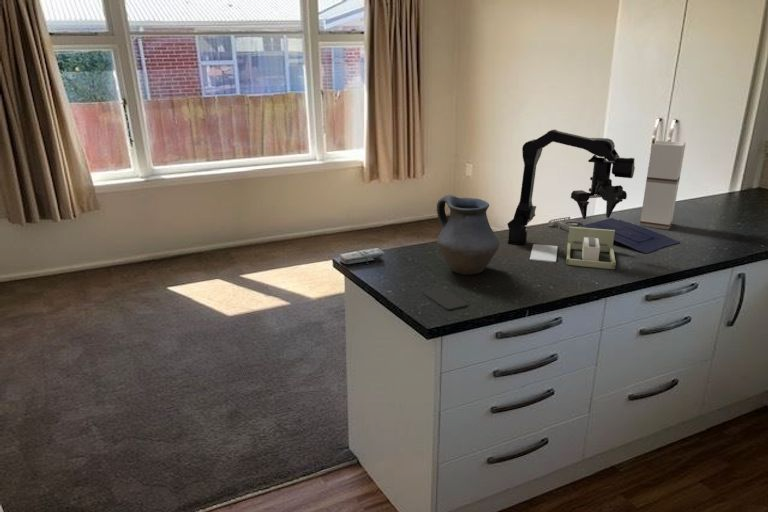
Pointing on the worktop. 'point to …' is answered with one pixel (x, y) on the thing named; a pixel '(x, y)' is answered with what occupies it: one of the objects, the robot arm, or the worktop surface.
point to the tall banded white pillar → (662, 184)
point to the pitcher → (466, 234)
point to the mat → (544, 253)
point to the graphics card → (566, 223)
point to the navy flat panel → (633, 235)
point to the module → (590, 249)
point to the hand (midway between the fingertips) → (595, 218)
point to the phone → (445, 299)
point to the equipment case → (605, 245)
